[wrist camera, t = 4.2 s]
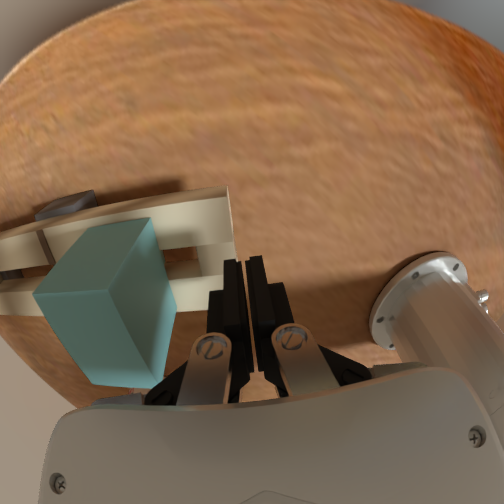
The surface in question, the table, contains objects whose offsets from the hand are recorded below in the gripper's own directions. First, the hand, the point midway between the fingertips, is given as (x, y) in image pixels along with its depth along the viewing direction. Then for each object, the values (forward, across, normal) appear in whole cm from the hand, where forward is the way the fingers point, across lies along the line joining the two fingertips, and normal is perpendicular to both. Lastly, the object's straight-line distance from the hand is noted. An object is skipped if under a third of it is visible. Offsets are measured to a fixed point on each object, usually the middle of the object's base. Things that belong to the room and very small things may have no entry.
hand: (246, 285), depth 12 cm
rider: (+5, +6, 0) cm, 8 cm away
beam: (+8, +12, 0) cm, 15 cm away
